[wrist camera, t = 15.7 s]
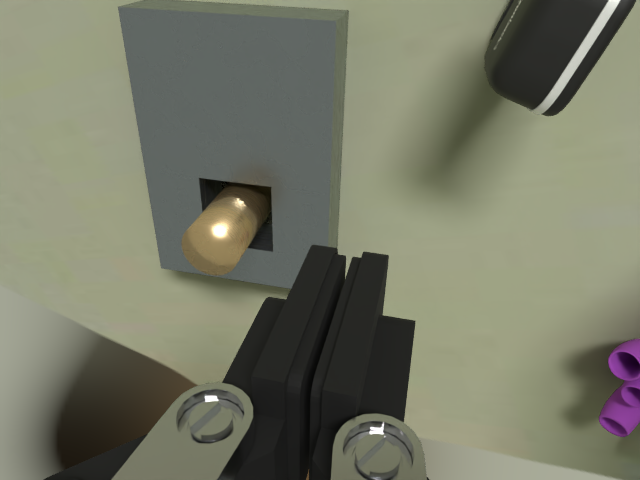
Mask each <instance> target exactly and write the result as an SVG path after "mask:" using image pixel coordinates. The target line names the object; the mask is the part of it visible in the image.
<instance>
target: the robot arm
mask: <svg viewBox="0 0 640 480" xmlns="http://www.w3.org/2000/svg"><path fill="white" fill-rule="evenodd" d="M388 258H389V255H384V254H377V253H370V252H363V254H362V258H358V257H353V258H352V260H351V263H350V267H349V270H348V273H347V276H346V279H345V268H346V256H344V255H338V250H337V248H334V247H327V246H320V245H311V247H310V249H309V251H308V253H307V256H306V258H305V260H304V262H303V264H302V266H301V269H300V271H299V273H298V275H297V277H296V280H295V282H294V284H293V286H292V288H291V290H290V293H289V295H288V297H287V299H286V300H285V299H279V298H273V297H268V298H266V299H265V301H264V302H263V304H262V306H261V308H260V310H259V312H258V314H257V316H256V318H255V320H254V322H253V324H252V326H251V328H250V329H249V331H248V333H247V335H246V337H245V339H244V341H243V343H242V345H241V347H240V349H239V351H238V353H237V355H236V357H235V359H234V360H233V362H232V364H231V366H230V368H229V370H228V372H227V374H226V376H225V378H224V380H223V382H222V383H206V384H203V385H199V386H196V387H193V388H192V389H190V390H188V391H186V392H184V393H183V394H182V395H181V396H180V397H179V398H178V399H177V400H175V402H174V403H173V404H172V405H171V406H170V408H169V409H168V410H167V411H166V412H165V414H164V415H163V416H162V417H161V419H160V420H159V421H158V422H157V424H156V425H155V426H154V428H153V429H152V430H151V431H150V432H149V434H146V435H144V436H142V437H140V438H137V439H135V440H133V441H130V442H128V443H126V444H124V445H121V446H119V447H117V448H114V449H112V450H110V451H107V452H105V453H103V454H100V455H98V456H96V457H94V458H91V459H89V460H87V461H84V462H82V463H80V464H77V465H75V466H73V467H71V468H68V469H66V470H64V471H62V472H59V473H57V474H55V475H52V476H50V477H48V478H46V479H44V480H306V477H307V474H308V470H309V480H429V479H428V477H427V476H426V466H425V458H424V451H423V448H422V444H421V442H420V440H419V438H418V437H417V435H416V434H415V432H414V431H413V430H412V429H411V428H410V427H408V426H407V425H406V424H405V423H404V416H405V407H406V398H407V390H408V381H409V373H410V364H411V355H412V347H413V338H414V329H415V321H413V320H407V319H401V318H395V317H389V316H383V315H382V314H383V305H384V296H385V287H386V278H387V269H388Z"/></svg>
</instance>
